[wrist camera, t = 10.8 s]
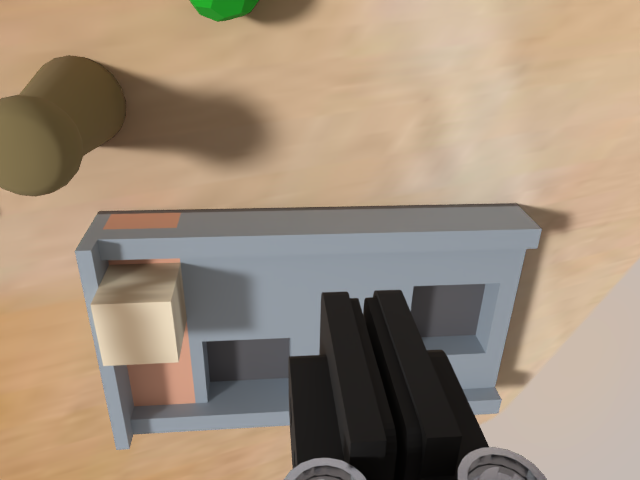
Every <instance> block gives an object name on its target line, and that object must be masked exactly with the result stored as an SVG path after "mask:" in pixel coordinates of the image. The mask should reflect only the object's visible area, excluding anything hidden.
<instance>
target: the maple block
mask: <svg viewBox="0 0 640 480" xmlns="http://www.w3.org/2000/svg"><path fill="white" fill-rule="evenodd" d="M90 306H91V310H92V315H93V320H94V325H95V329H96V334H97V339H98V344H99V348H100V353H101V358H102V363H103V366H115V365H135V364H155V363H175V362H179V358H180V353H181V347H182V342H183V337H184V332H185V326H186V321H187V315H186V307H185V298H184V289H183V280H182V272H181V263H149V264H119V265H109V266H108V268H107V270H106V272H105V274H104V277H103V279H102V281H101V283H100V285H99V287H98V289H97V292H96V294H95V296H94V298H93V300H92V302H91V304H90Z"/></svg>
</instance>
